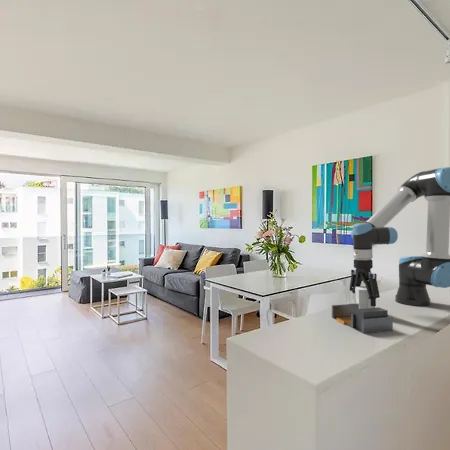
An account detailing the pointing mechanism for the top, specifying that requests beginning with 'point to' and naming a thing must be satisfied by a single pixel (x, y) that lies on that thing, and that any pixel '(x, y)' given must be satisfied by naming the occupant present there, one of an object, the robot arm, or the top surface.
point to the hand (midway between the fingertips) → (364, 310)
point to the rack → (369, 325)
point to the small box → (361, 296)
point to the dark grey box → (368, 315)
